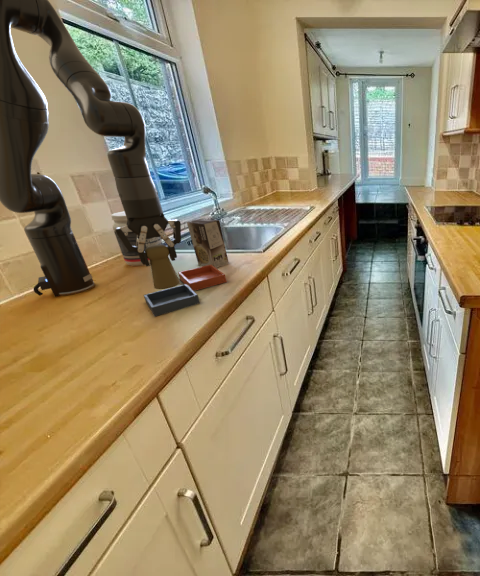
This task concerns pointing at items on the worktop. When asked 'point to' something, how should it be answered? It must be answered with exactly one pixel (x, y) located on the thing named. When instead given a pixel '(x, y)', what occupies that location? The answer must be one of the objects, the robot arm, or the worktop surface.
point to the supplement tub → (131, 240)
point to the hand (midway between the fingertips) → (160, 262)
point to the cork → (161, 267)
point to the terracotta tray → (202, 277)
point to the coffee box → (208, 242)
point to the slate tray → (171, 299)
